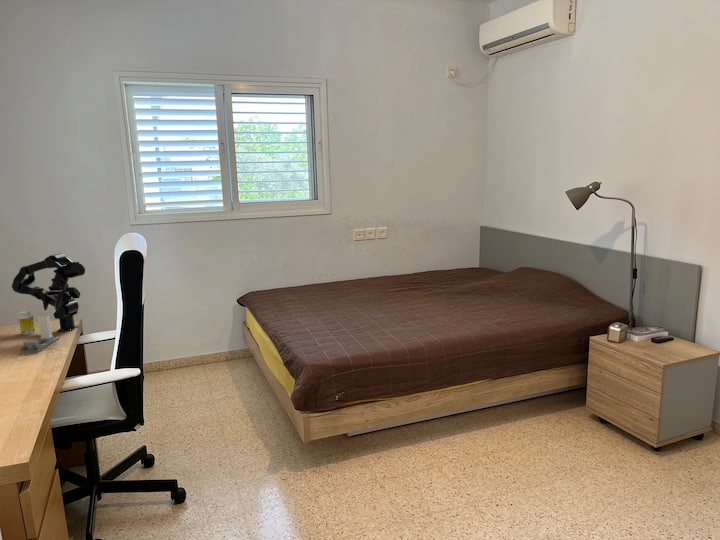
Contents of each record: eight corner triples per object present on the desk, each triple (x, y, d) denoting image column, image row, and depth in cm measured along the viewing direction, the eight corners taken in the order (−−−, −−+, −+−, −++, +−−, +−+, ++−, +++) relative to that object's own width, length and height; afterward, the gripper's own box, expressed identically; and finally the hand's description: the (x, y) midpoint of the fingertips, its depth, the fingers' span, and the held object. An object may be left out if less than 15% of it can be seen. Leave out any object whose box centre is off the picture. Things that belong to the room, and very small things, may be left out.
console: (43, 340, 220) (42, 331, 220) (59, 339, 221) (58, 330, 220) (20, 353, 205) (18, 343, 204) (38, 352, 205) (36, 343, 204)
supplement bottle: (36, 333, 231) (32, 311, 229) (21, 335, 228) (18, 313, 226) (34, 330, 236) (31, 309, 234) (20, 332, 232) (16, 311, 230)
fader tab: (46, 337, 220) (42, 314, 217) (54, 337, 220) (50, 314, 218) (40, 341, 215) (36, 317, 213) (48, 341, 215) (44, 317, 213)
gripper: (89, 288, 236) (80, 317, 227) (49, 289, 236) (38, 319, 227) (78, 275, 227) (68, 305, 218) (36, 276, 226) (25, 307, 218)
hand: (50, 309), depth 221 cm, fingers open, 5 cm apart
